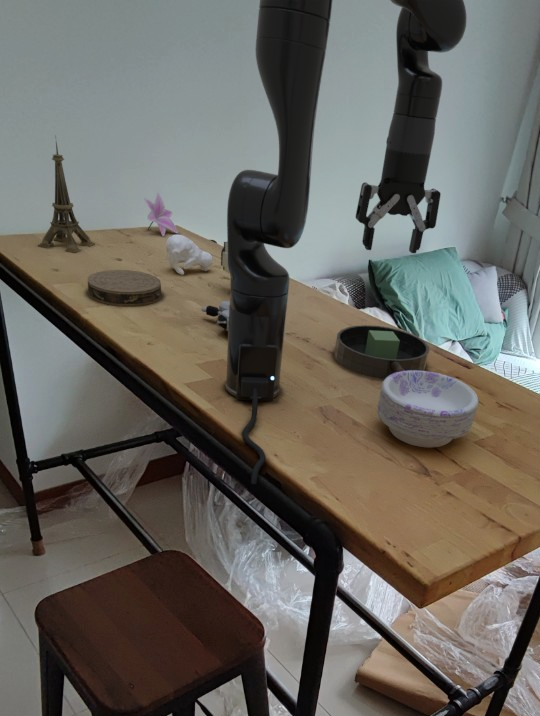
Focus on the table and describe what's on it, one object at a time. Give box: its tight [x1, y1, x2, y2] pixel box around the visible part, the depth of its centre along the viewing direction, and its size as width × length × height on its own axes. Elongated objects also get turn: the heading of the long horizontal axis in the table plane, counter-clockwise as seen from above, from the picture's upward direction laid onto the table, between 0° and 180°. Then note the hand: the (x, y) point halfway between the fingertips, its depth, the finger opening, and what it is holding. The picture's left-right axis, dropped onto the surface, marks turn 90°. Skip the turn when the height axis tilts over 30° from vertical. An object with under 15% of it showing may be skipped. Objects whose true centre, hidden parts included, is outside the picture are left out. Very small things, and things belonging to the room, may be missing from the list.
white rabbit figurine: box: [165, 234, 213, 276], centre depth 162 cm, size 6×8×12 cm
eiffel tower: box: [37, 135, 96, 254], centre depth 164 cm, size 11×11×25 cm
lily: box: [143, 191, 179, 237], centre depth 190 cm, size 12×12×10 cm
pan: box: [333, 324, 430, 380], centre depth 127 cm, size 18×18×4 cm
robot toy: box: [200, 300, 230, 332], centre depth 134 cm, size 12×4×15 cm
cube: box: [365, 330, 400, 359], centre depth 127 cm, size 5×5×5 cm
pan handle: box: [390, 361, 405, 373], centre depth 117 cm, size 9×2×2 cm, turn 9°
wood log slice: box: [87, 269, 162, 307], centre depth 144 cm, size 16×16×3 cm
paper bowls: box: [376, 370, 479, 449], centre depth 103 cm, size 15×15×8 cm
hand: (390, 250), depth 117 cm, fingers open, 8 cm apart
